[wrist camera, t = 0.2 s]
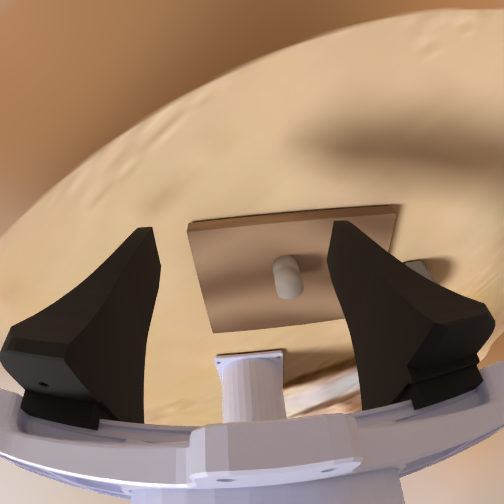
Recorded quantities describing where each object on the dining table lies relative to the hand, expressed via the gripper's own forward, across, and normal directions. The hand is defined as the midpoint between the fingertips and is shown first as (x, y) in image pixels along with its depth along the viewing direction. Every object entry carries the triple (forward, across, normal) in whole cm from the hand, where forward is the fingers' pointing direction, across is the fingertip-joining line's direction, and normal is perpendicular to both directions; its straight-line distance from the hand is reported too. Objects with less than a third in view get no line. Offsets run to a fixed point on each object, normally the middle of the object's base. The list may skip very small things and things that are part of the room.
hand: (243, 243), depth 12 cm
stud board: (+10, -5, +10) cm, 15 cm away
